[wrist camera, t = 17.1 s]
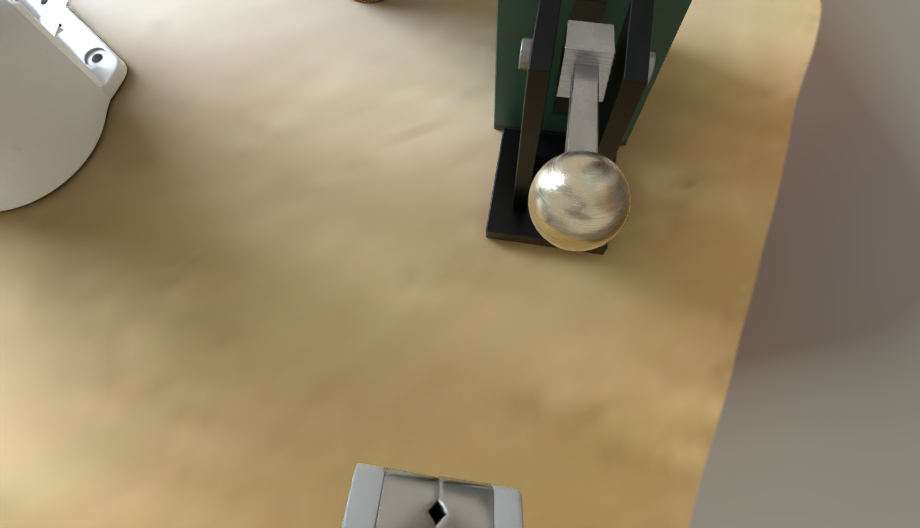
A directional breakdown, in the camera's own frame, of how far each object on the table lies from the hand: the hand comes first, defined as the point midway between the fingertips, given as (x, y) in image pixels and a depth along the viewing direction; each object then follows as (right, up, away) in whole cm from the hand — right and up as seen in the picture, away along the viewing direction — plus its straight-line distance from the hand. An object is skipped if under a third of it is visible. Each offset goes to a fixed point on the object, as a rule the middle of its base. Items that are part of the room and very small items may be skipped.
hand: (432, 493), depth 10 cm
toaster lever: (+5, +9, +13) cm, 17 cm away
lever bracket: (+7, +9, +29) cm, 31 cm away
